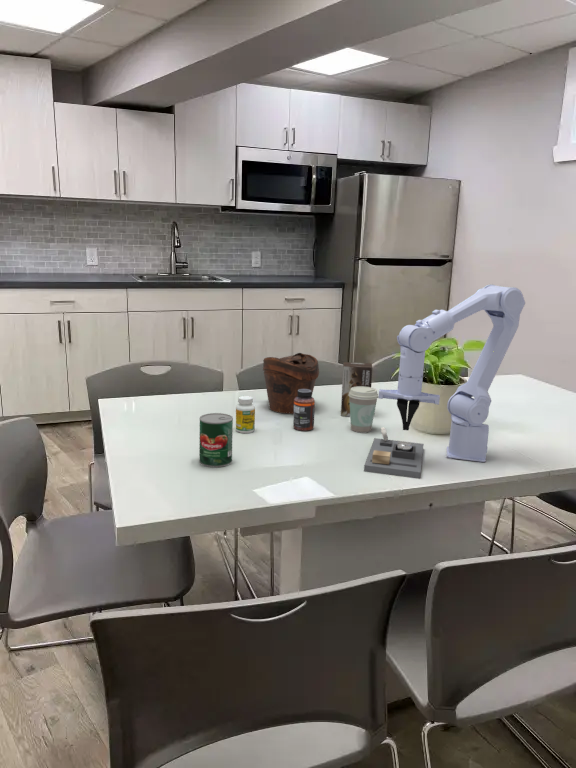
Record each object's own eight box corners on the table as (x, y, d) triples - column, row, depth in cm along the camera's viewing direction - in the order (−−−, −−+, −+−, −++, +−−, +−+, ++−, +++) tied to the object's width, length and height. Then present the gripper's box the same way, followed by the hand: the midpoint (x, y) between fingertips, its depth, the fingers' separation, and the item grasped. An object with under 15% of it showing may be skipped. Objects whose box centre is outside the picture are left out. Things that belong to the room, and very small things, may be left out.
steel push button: (411, 448, 149) (412, 442, 148) (411, 453, 145) (411, 447, 145) (397, 446, 150) (397, 440, 149) (396, 451, 146) (396, 445, 146)
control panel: (423, 449, 157) (424, 437, 156) (419, 478, 137) (421, 465, 136) (374, 443, 160) (374, 432, 159) (363, 471, 140) (364, 458, 139)
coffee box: (369, 412, 189) (372, 362, 186) (369, 418, 183) (373, 367, 179) (340, 410, 190) (343, 361, 186) (340, 416, 184) (343, 365, 180)
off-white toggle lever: (388, 439, 155) (385, 426, 155) (388, 440, 154) (384, 427, 154) (384, 440, 155) (380, 427, 155) (383, 441, 154) (380, 428, 154)
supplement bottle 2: (309, 424, 174) (311, 387, 172) (316, 430, 169) (318, 392, 166) (290, 425, 172) (291, 388, 170) (297, 432, 167) (298, 393, 164)
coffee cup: (352, 434, 166) (355, 393, 164) (342, 425, 174) (344, 386, 172) (380, 433, 169) (383, 392, 166) (368, 424, 177) (371, 385, 174)
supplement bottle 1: (248, 426, 170) (249, 394, 168) (258, 431, 166) (259, 398, 164) (232, 429, 167) (232, 396, 165) (241, 434, 163) (241, 401, 161)
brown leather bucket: (317, 400, 200) (318, 348, 196) (318, 418, 181) (320, 360, 177) (264, 399, 201) (264, 347, 196) (260, 416, 181) (261, 359, 177)
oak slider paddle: (390, 459, 143) (390, 452, 143) (388, 464, 140) (389, 456, 140) (373, 457, 144) (374, 450, 144) (372, 462, 141) (372, 454, 141)
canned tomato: (201, 468, 138) (201, 423, 135) (197, 456, 145) (197, 413, 143) (235, 466, 140) (236, 421, 138) (228, 454, 148) (229, 412, 145)
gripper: (378, 375, 141) (374, 430, 144) (441, 381, 137) (435, 437, 141) (381, 370, 148) (377, 422, 151) (441, 375, 144) (436, 428, 147)
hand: (405, 429), depth 146 cm, fingers closed
